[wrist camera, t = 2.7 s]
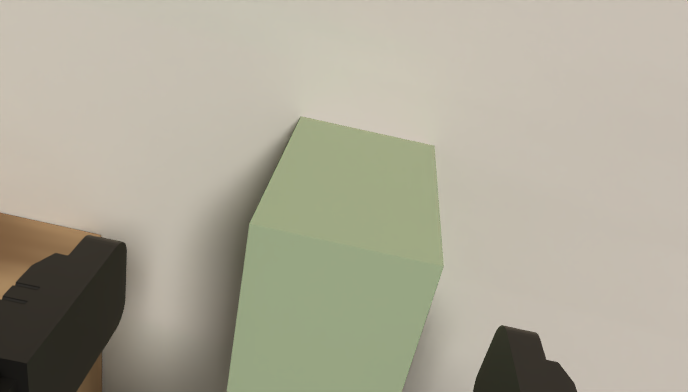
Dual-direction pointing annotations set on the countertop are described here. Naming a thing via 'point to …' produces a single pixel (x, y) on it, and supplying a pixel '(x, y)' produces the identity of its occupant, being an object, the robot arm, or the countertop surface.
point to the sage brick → (338, 265)
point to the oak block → (31, 247)
